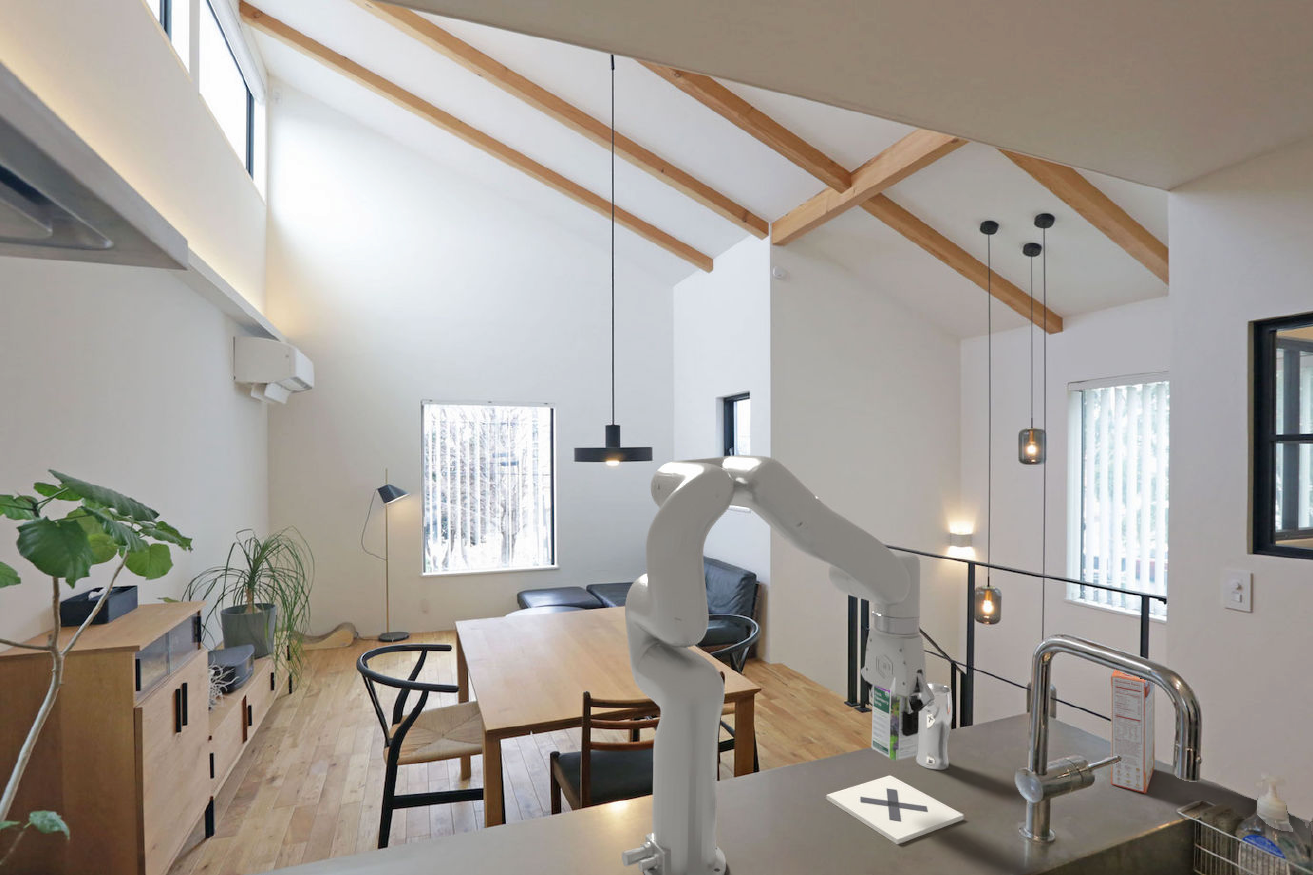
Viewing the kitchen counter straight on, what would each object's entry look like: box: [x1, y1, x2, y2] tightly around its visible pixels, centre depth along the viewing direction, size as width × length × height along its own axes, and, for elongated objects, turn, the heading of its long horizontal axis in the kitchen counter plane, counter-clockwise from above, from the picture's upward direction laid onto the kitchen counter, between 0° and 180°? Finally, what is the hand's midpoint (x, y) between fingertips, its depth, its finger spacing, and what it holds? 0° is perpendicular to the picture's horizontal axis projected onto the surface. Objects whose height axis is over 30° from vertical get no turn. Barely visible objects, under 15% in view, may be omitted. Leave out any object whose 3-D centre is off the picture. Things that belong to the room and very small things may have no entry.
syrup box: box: [871, 677, 919, 762], centre depth 124 cm, size 6×6×14 cm
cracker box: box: [1110, 669, 1156, 794], centre depth 138 cm, size 14×6×21 cm, turn 139°
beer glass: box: [915, 681, 953, 771], centre depth 142 cm, size 7×7×15 cm
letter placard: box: [826, 774, 964, 845], centre depth 124 cm, size 16×16×1 cm
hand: (895, 726), depth 124 cm, fingers closed on syrup box, 5 cm apart
